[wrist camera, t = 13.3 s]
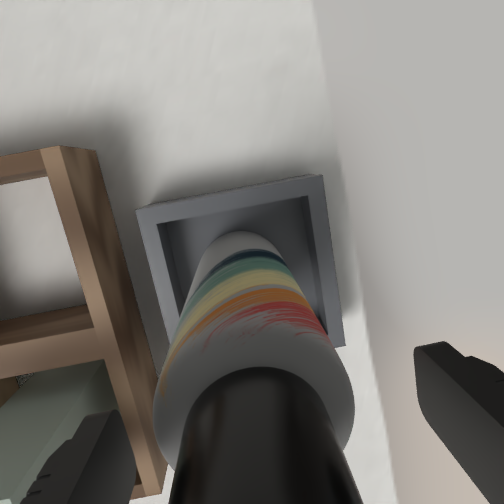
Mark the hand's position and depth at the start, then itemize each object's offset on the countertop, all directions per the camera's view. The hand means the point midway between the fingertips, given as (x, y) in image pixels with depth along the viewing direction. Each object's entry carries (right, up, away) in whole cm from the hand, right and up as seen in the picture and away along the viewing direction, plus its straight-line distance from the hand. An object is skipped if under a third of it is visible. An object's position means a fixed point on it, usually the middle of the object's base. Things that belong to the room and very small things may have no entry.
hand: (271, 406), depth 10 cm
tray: (-1, +3, +16) cm, 16 cm away
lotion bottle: (-1, +3, +15) cm, 15 cm away
